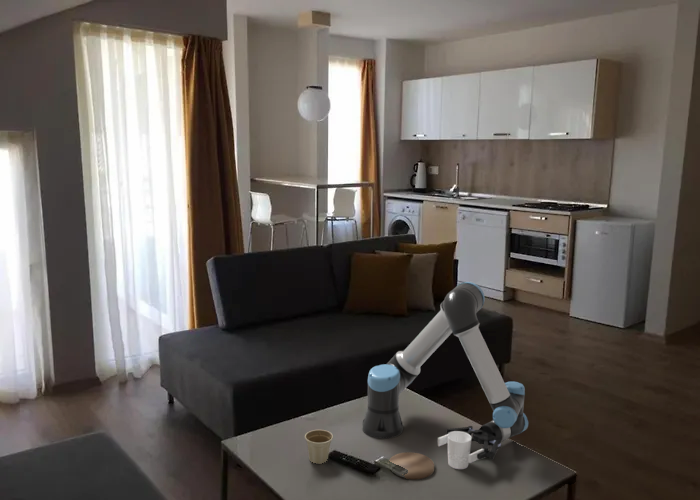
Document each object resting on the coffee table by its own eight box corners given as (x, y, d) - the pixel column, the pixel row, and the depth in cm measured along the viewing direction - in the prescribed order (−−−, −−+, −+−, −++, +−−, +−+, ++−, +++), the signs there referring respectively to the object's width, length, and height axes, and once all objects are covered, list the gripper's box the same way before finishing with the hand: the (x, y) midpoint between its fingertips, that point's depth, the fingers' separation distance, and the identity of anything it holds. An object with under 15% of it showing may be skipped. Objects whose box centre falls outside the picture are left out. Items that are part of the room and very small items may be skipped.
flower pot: (337, 456, 205) (337, 433, 203) (324, 469, 197) (325, 445, 195) (313, 450, 209) (313, 427, 207) (299, 463, 200) (299, 439, 199)
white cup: (470, 471, 197) (471, 443, 195) (445, 468, 198) (447, 440, 197) (470, 459, 204) (471, 432, 203) (446, 457, 206) (448, 429, 204)
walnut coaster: (379, 464, 200) (379, 461, 200) (411, 451, 209) (412, 447, 209) (410, 484, 189) (410, 481, 188) (443, 469, 198) (443, 466, 198)
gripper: (523, 456, 203) (482, 477, 190) (466, 428, 222) (426, 445, 209) (525, 436, 201) (484, 455, 188) (467, 409, 221) (427, 425, 208)
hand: (453, 450), depth 199 cm, fingers open, 13 cm apart
